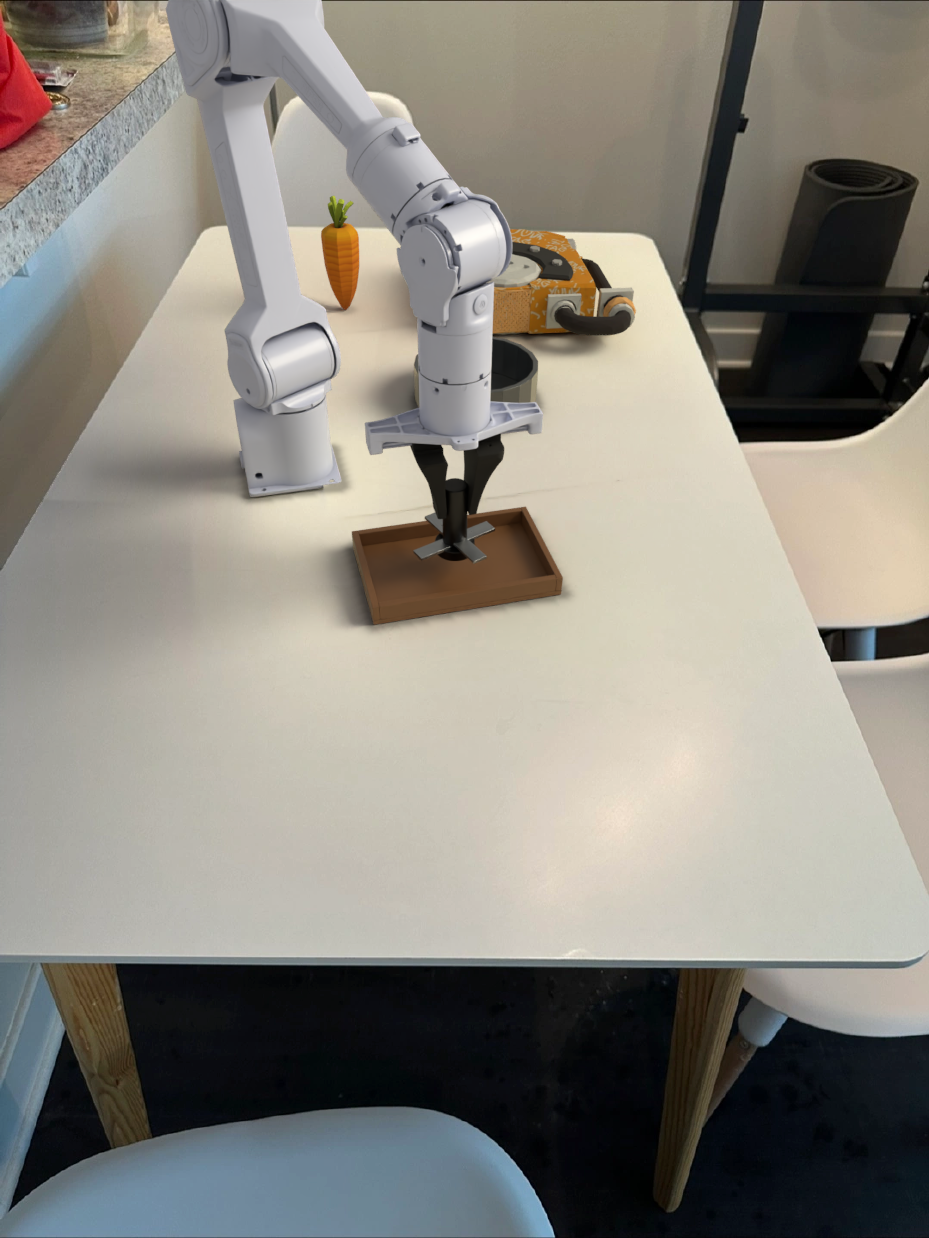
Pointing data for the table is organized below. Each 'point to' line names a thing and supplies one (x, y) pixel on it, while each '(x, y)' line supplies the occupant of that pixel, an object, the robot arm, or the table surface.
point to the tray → (453, 568)
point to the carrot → (341, 253)
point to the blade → (455, 528)
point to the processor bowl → (506, 373)
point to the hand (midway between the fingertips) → (454, 510)
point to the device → (556, 290)
